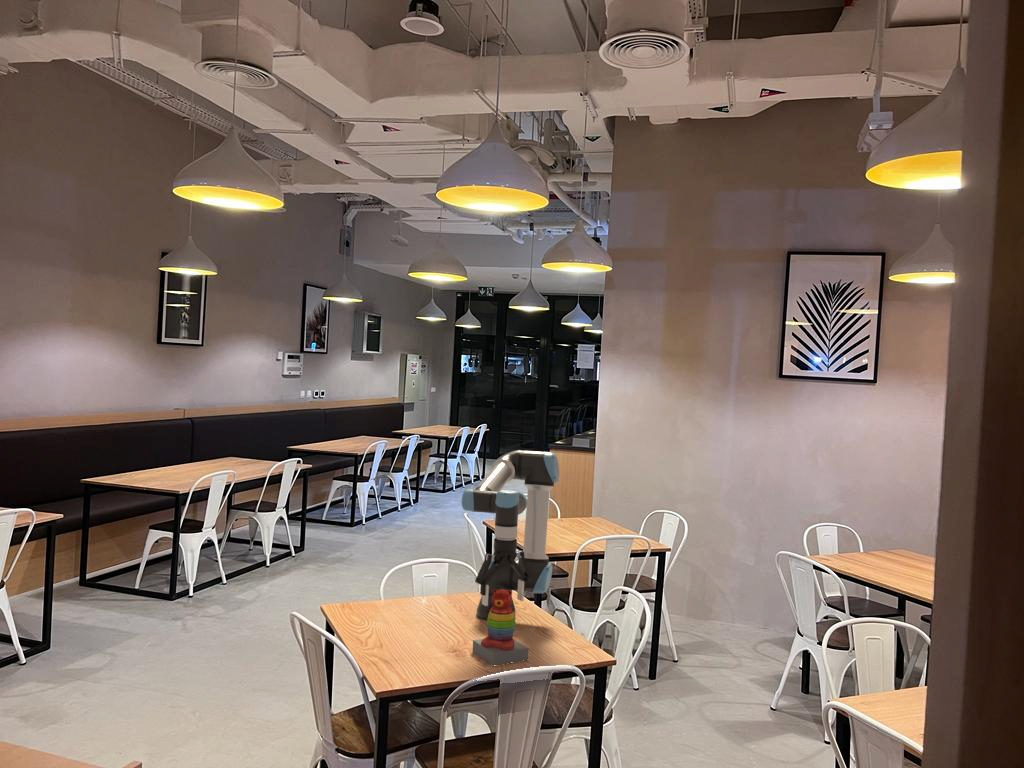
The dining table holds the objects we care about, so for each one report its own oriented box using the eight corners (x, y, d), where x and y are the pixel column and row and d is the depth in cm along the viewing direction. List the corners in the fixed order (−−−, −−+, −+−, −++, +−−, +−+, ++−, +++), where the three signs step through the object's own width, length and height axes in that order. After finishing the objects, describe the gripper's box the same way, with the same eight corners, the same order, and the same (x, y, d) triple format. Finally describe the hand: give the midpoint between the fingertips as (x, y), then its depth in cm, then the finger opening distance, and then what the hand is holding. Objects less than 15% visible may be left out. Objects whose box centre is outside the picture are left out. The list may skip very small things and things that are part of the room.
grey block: (506, 646, 247) (506, 634, 247) (528, 660, 235) (528, 648, 235) (472, 652, 240) (473, 640, 240) (493, 666, 228) (494, 653, 228)
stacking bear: (478, 646, 234) (481, 591, 235) (490, 636, 244) (492, 584, 244) (510, 651, 231) (512, 595, 231) (520, 642, 240) (522, 588, 241)
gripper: (531, 533, 248) (528, 594, 248) (466, 538, 235) (463, 603, 235) (543, 537, 241) (540, 601, 241) (477, 543, 228) (474, 610, 228)
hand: (502, 602), depth 238 cm, fingers open, 13 cm apart
